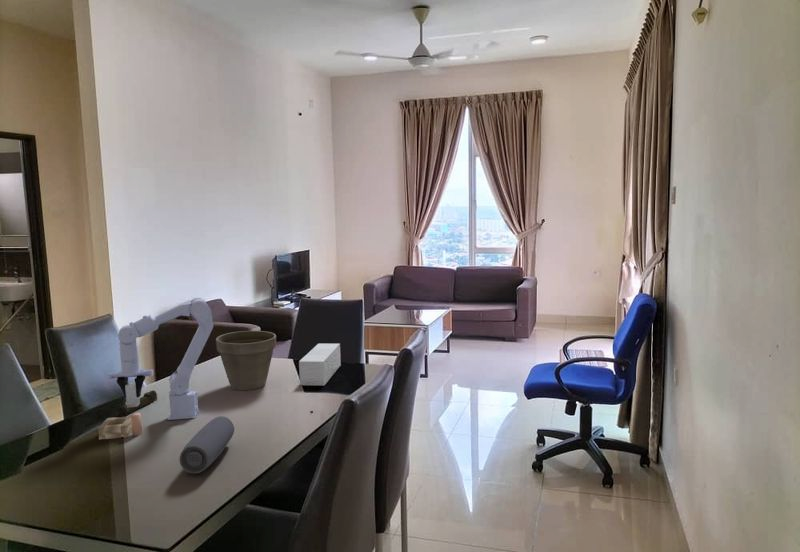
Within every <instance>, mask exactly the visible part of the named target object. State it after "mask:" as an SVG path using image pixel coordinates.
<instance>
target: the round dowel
mask: <svg viewBox="0 0 800 552" xmlns="http://www.w3.org/2000/svg"><path fill="white" fill-rule="evenodd" d="M130 416H131V422H132V433H131V434H132V436H133V435H139V436H141V435H143V425H142V424H143V423H142V415H141V413H140V412H134V413H132V414H131V415H130ZM140 434H141V435H140Z"/></svg>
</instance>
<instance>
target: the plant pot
mask: <svg viewBox="0 0 800 552" xmlns="http://www.w3.org/2000/svg"><path fill="white" fill-rule="evenodd" d="M215 345H216V351H217V352H218V353H219V355H220V359H221V362H222V365H223V368H224V371H225V374H226V377H227V379H228V383H229V387H230V388H231V389H233V390H234V391H235V390H237V391H253V390H257V389H260V388H262V387H264V386H265V385H266V383H267V380H268V375H269V371H270V367H271V366H270V365H271V363H272V358H273V351H274V349H275V348H276V346H277V335H276V334H275V333H274V332H272V331H265V330H264V331H263V330H243V331H242V330H241V331H232V332H227V333H224V334H221V335H219V336H217V337H216V338H215Z"/></svg>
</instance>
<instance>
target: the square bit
mask: <svg viewBox="0 0 800 552" xmlns="http://www.w3.org/2000/svg"><path fill="white" fill-rule="evenodd" d="M125 390H126V398H125V400H126V404H127V407H137V406H138V405H139V404H140V398H141V396H140V397H137V393H136V384H135V381H134V382H133V381H131V382H130V381H129V382H128V383H127V384H126V385H125Z"/></svg>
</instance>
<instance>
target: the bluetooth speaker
mask: <svg viewBox="0 0 800 552" xmlns="http://www.w3.org/2000/svg"><path fill="white" fill-rule="evenodd" d="M234 433H235V426H234V423H233V422H232V420H231V419H229V418H228V417H226V416H221V415H220V416H216V417H214V418H212V419H211V420H210V421H208V422H207V423H206V424H205V425H204V426H203V427H202V428H201V429H199V430H198V431H197V432H196V433H195V435H194V436H193V437H192V438H191V439H190V440H189V441H188V443H187V444H186V445H185V446H184V447H183V449H182V451H181V452H180V455H179V460H178V461H179V464H180V467H182V469H183V471H185V472H187V473H190V474H199V473H202V472H204V471H205V470H207V468H208V467H210V466H211V465H212V464H213V463H214V462H215V461H216V460H217V459H218V457H219V456H220V455H221V454H222V453H223V452H224V450H225V448H226V446H227V445H228V444H229V443H230V441H231V439H232V438H233V435H234Z"/></svg>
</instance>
